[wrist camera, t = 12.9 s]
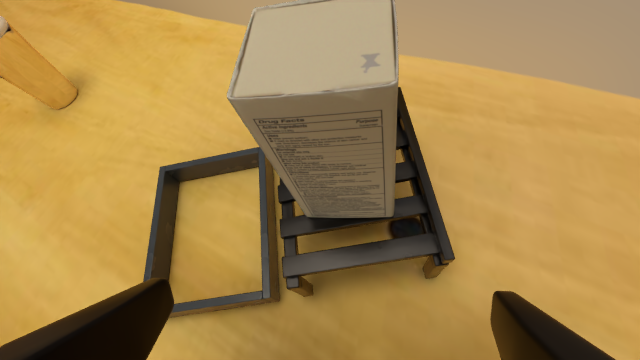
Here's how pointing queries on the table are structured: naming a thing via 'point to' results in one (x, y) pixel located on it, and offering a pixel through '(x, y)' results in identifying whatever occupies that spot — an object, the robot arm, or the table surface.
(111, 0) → the table surface
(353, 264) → the top rack
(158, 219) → the gray rectangular frame
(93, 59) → the table surface
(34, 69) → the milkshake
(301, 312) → the table surface
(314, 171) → the beige box
